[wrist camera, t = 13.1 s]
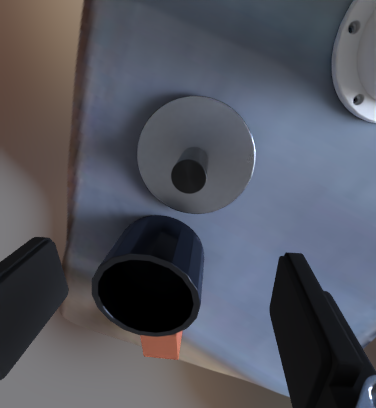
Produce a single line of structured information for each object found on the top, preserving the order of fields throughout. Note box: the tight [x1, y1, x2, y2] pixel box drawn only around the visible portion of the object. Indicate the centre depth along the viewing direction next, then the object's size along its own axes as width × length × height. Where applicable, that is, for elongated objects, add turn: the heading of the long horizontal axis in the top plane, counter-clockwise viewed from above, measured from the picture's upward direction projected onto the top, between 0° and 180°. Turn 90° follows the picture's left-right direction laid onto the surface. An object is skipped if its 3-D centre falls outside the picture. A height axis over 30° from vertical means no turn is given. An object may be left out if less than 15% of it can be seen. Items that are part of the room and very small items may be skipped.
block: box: [140, 330, 183, 360], centre depth 33 cm, size 5×5×5 cm
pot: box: [92, 215, 204, 337], centre depth 27 cm, size 11×12×8 cm
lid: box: [137, 96, 255, 214], centre depth 22 cm, size 12×12×7 cm
